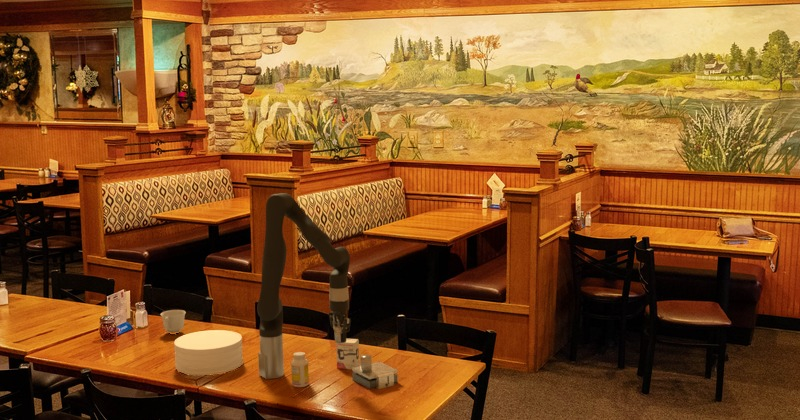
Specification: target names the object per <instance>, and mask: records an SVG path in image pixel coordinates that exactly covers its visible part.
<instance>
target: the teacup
mask: <svg viewBox="0 0 800 420" xmlns="http://www.w3.org/2000/svg"><path fill="white" fill-rule="evenodd" d="M186 313H187V312H186V311H185V310H183V309H170V310H165V311H162V312H161V313H160V316H161V318H162V324H163V328H164V330H165V331H166V332H171V333H175V332H179V331H180V332H181V330H183V328H184V326H185V325H184V324H185V315H186Z"/></svg>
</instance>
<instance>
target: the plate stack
mask: <svg viewBox="0 0 800 420" xmlns="http://www.w3.org/2000/svg"><path fill="white" fill-rule="evenodd" d="M242 336H243V335H241V334H240V333H238V332H236V331H233V330H232V331H231V330H223V329H214V330H213V329H211V330H210V329H208V330H201V331H195V332H189V333H187V334H184V335H181V336H178V337H177V338H176V339H175V340H174V343H173V347H174V360H175V361H174V363H175V370H176V369H177V370H178V371H179V372H182V373H185V374H189V375H210V374H218V373H224V372H228V371H231V370H234V369H236V368H238V367H240V366H241V365H242V366H243V364H244V359H243V357H244V355H243V342H242V341H243V337H242ZM242 366H241V367H242ZM241 367H240V368H241ZM238 369H239V368H238ZM236 370H237V369H236ZM234 371H235V370H234ZM179 372H178V373H179ZM231 372H232V371H231ZM228 373H229V372H228ZM224 374H225V373H224ZM189 375H188V376H189Z"/></svg>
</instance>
